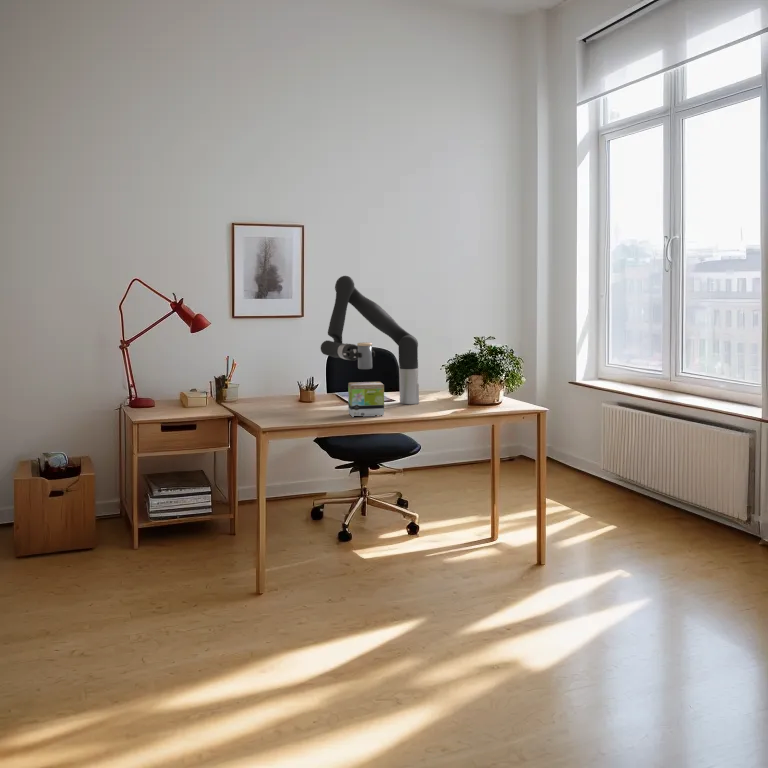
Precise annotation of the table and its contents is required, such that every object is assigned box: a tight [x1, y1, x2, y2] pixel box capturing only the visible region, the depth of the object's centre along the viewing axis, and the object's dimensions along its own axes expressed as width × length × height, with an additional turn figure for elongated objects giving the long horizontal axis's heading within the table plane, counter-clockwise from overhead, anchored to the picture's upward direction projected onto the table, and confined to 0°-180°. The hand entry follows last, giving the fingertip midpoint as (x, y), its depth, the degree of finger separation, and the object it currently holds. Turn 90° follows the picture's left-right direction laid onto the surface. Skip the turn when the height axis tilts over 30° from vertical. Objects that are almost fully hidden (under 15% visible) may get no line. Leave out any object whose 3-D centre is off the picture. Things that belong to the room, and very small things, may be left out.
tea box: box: [347, 381, 385, 418], centre depth 364 cm, size 15×10×15 cm
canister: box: [356, 341, 373, 370], centre depth 362 cm, size 7×7×11 cm
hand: (367, 354), depth 360 cm, fingers closed on canister, 6 cm apart
